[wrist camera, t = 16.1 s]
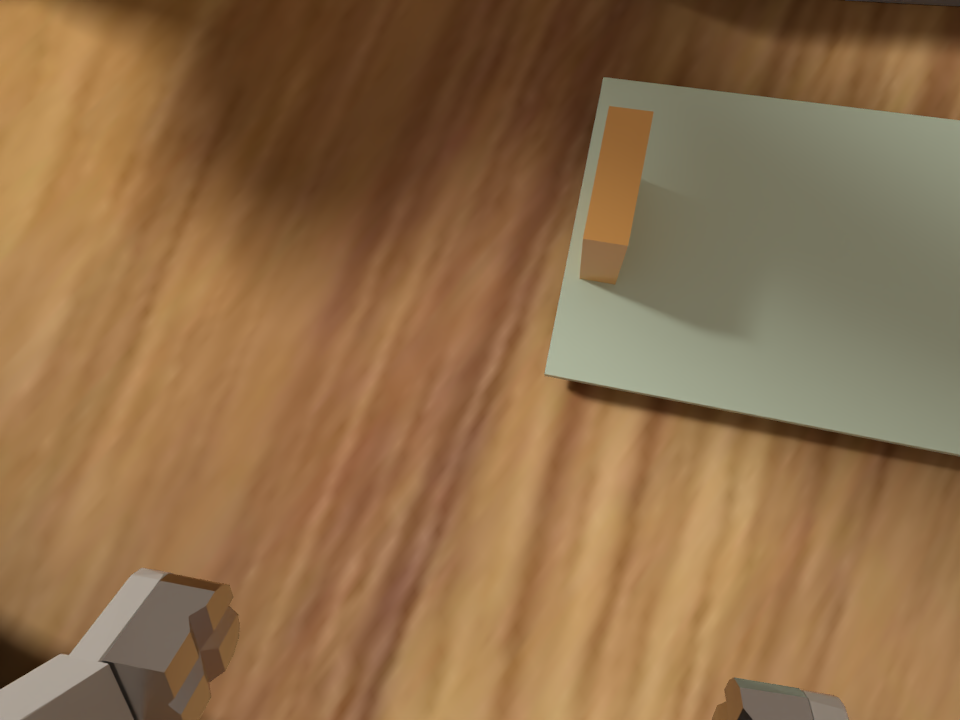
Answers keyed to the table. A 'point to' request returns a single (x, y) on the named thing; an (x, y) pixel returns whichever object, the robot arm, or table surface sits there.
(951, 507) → the table surface
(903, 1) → the tub
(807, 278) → the lid
